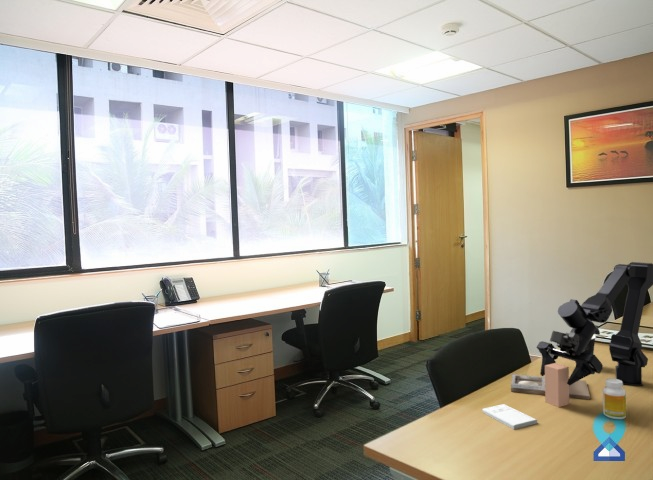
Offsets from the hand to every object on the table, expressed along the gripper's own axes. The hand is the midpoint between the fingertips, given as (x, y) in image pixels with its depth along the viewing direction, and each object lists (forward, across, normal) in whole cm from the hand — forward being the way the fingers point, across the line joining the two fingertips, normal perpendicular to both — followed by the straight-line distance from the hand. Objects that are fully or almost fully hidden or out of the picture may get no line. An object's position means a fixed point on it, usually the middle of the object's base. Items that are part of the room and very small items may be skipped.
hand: (554, 379), depth 142 cm
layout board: (-2, -10, +11) cm, 15 cm away
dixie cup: (-21, -18, +31) cm, 42 cm away
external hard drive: (+19, 0, -8) cm, 20 cm away
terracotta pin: (+4, 0, +6) cm, 7 cm away
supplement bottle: (+1, +14, +10) cm, 17 cm away
